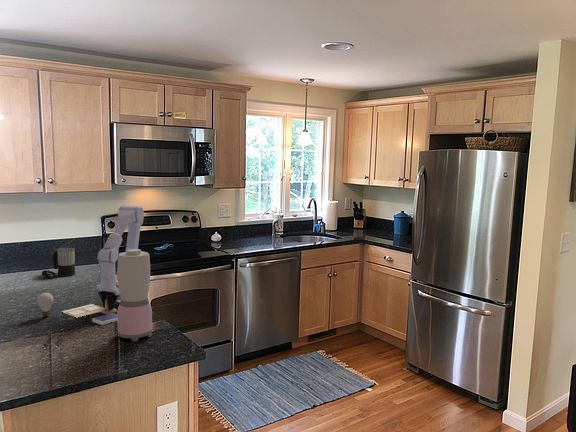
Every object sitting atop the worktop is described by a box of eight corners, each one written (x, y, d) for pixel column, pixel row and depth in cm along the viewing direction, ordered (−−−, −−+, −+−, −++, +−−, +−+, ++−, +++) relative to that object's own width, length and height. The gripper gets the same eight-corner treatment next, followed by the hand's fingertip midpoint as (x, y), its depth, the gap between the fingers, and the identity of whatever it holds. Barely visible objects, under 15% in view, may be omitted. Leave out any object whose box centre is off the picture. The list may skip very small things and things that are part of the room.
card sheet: (92, 304, 209) (92, 303, 209) (107, 309, 202) (107, 309, 202) (61, 312, 198) (61, 311, 198) (76, 318, 191) (76, 317, 191)
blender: (159, 335, 174) (158, 250, 170) (129, 344, 164) (128, 254, 161) (135, 325, 184) (133, 245, 180) (106, 333, 174) (104, 249, 171)
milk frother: (79, 273, 267) (78, 247, 265) (63, 280, 251) (62, 252, 249) (55, 272, 268) (54, 246, 267) (38, 278, 253) (37, 251, 251)
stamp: (110, 310, 201) (110, 297, 201) (116, 312, 199) (116, 299, 198) (101, 313, 198) (100, 299, 197) (107, 315, 195) (106, 301, 194)
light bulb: (38, 315, 193) (38, 291, 192) (54, 313, 195) (53, 290, 194) (36, 319, 188) (35, 295, 187) (53, 318, 190) (52, 294, 189)
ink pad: (112, 315, 194) (111, 312, 194) (122, 319, 190) (122, 315, 190) (92, 321, 187) (91, 317, 187) (102, 325, 183) (101, 321, 183)
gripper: (89, 276, 198) (90, 307, 199) (109, 281, 189) (110, 314, 191) (104, 273, 203) (105, 303, 205) (124, 278, 195) (125, 310, 196)
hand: (108, 308), depth 198 cm, fingers closed on stamp, 3 cm apart
